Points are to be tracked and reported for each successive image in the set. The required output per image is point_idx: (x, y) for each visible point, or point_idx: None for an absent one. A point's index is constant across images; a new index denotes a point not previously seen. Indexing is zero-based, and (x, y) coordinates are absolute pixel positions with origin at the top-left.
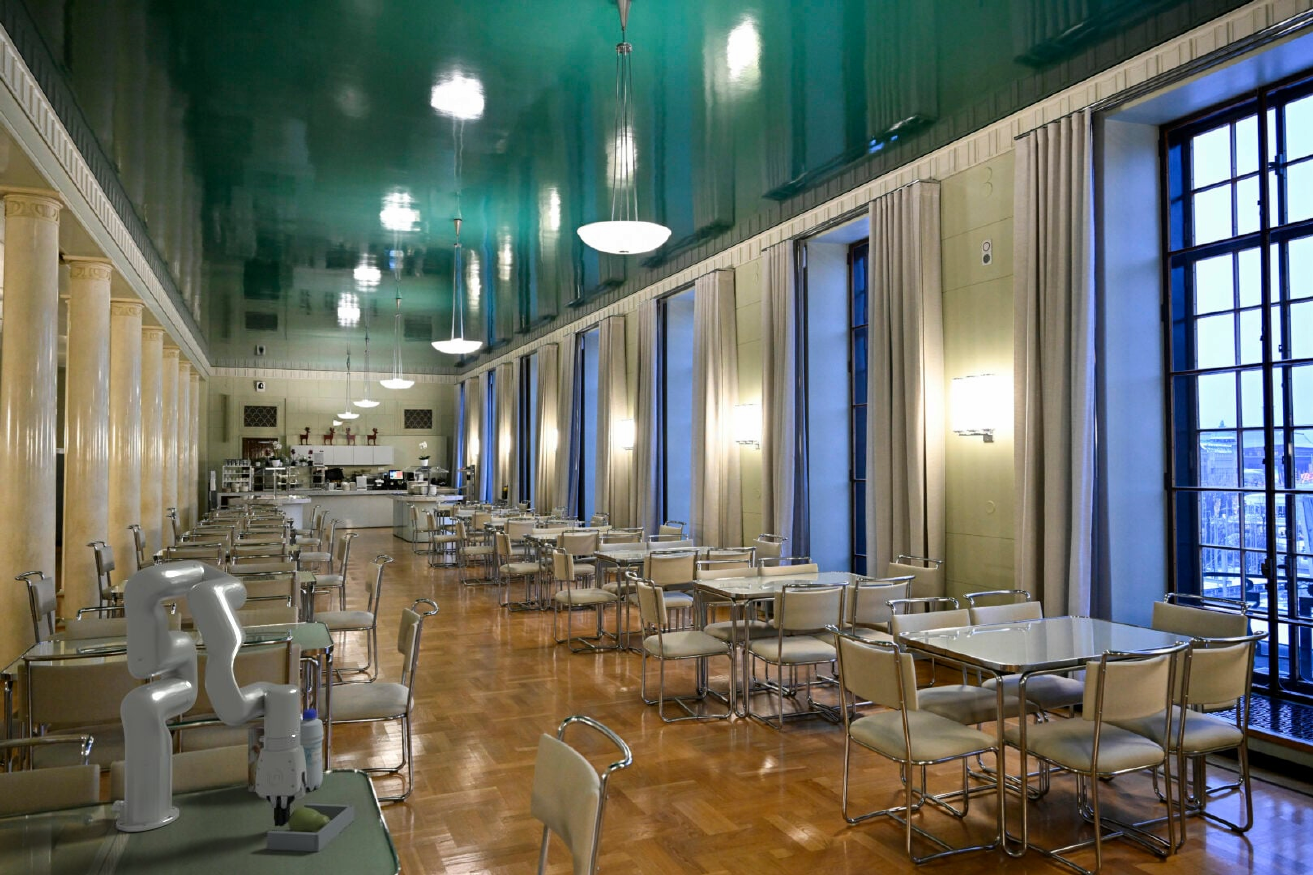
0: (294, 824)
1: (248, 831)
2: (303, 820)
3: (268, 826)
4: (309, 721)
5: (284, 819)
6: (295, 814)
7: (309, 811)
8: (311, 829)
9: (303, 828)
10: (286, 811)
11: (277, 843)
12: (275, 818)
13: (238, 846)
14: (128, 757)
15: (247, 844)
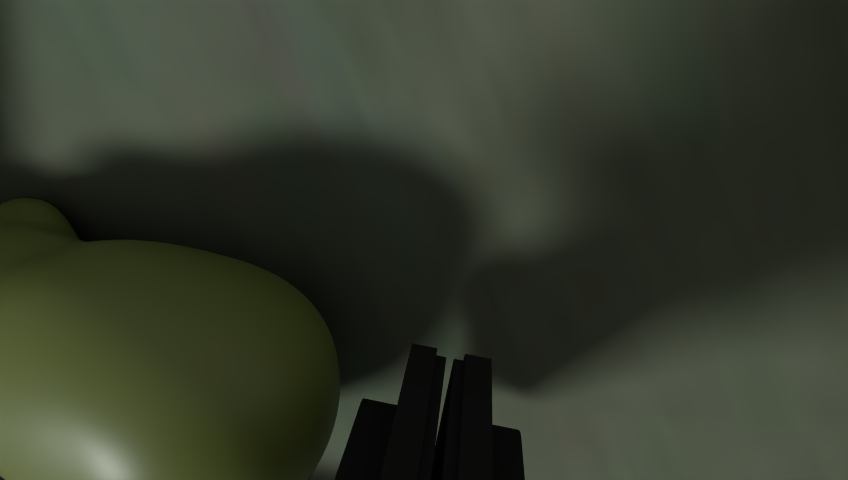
0: (207, 274)
1: (778, 395)
2: (65, 284)
3: (608, 470)
4: None
5: (383, 407)
6: (174, 383)
7: (10, 428)
8: (44, 229)
9: (122, 240)
10: (337, 477)
11: None
12: (481, 406)
13: (802, 30)
14: None
15: (704, 79)
